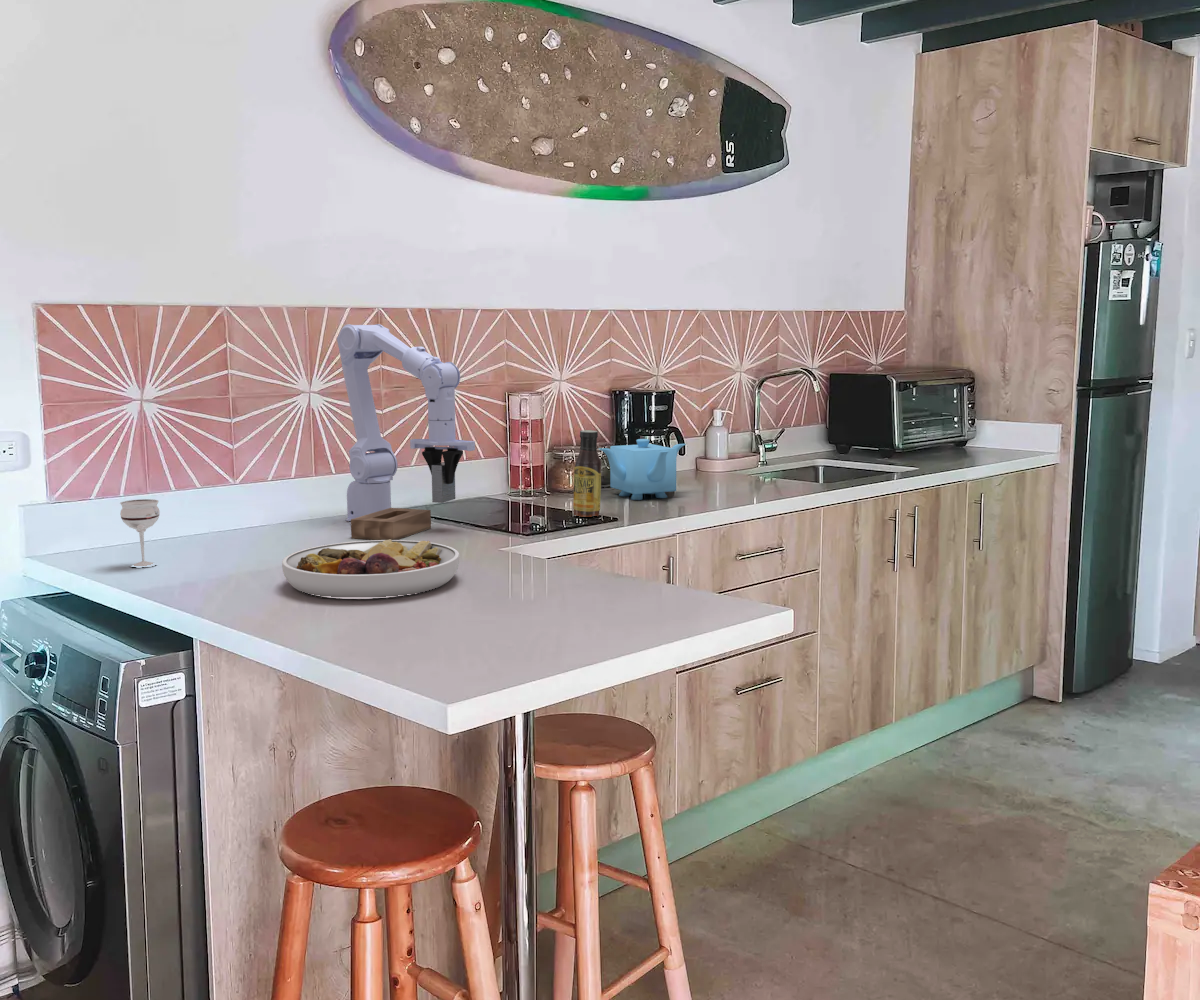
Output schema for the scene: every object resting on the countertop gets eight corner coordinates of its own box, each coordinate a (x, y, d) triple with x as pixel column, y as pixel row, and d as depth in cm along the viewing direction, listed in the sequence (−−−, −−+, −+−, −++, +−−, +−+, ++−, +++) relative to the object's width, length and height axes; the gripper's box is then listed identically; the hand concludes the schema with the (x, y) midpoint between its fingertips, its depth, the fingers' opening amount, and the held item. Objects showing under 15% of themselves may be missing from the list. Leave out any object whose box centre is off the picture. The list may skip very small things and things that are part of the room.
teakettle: (620, 489, 308) (620, 434, 305) (688, 492, 301) (688, 436, 299) (596, 500, 290) (596, 442, 288) (668, 503, 284) (668, 444, 282)
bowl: (275, 573, 209) (273, 531, 208) (438, 560, 219) (437, 520, 218) (293, 612, 181) (290, 563, 180) (478, 595, 191) (477, 549, 190)
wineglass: (170, 562, 217) (166, 499, 215) (147, 570, 211) (143, 505, 209) (139, 561, 219) (135, 498, 217) (116, 568, 213) (111, 504, 211)
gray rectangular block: (432, 502, 246) (431, 465, 245) (445, 498, 251) (444, 461, 250) (442, 502, 245) (441, 465, 244) (455, 498, 250) (454, 462, 249)
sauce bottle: (568, 517, 264) (567, 431, 261) (581, 513, 270) (580, 429, 267) (593, 519, 261) (593, 432, 258) (606, 515, 267) (605, 430, 264)
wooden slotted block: (351, 538, 241) (350, 519, 240) (391, 525, 255) (390, 507, 255) (393, 541, 237) (392, 522, 236) (431, 528, 252) (430, 510, 251)
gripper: (402, 420, 244) (404, 483, 246) (463, 422, 239) (465, 487, 241) (418, 417, 251) (420, 479, 253) (478, 419, 246) (480, 482, 248)
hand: (443, 483), depth 247 cm, fingers closed on gray rectangular block, 2 cm apart
